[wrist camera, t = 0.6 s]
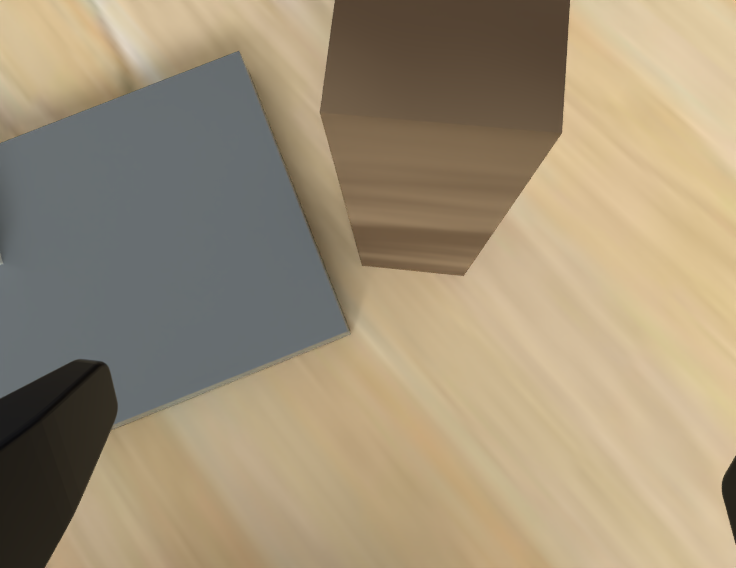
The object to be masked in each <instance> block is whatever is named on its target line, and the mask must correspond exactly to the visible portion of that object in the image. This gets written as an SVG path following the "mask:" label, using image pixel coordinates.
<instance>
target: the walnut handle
mask: <svg viewBox="0 0 736 568" xmlns="http://www.w3.org/2000/svg"><path fill="white" fill-rule="evenodd" d="M569 8H570V0H335V4H334V12H333V19H332V26H331V34H330V41H329V49H328V56H327V64H326V71H325V78H324V86H323V93H322V101H321V108H320V114H321V118H322V122H323V125H324V129H325V133H326V136H327V140H328V143H329V147H330V151H331V154H332V158H333V162H334V165H335V169H336V172H337V176H338V180H339V183H340V187H341V191H342V194H343V198H344V201H345V205H346V209H347V212H348V216H349V220H350V223H351V227H352V230H353V234H354V238H355V241H356V245H357V248H358V252H359V256H360V259H361V263H362V266H372V267H382V268H392V269H402V270H411V271H421V272H431V273H441V274H451V275H461V276H464V274H465V273H466V272H467V270H468V269H469V267H470V266H471V264H472V263H473V261H474V260H475V258H476V257H477V256H478V254H479V253H480V251H481V250H482V248H483V247H484V245H485V244H486V243H487V241H488V240H489V238H490V237H491V235H492V234H493V232H494V231H495V229H496V228H497V227H498V225H499V224H500V222H501V221H502V219H503V218H504V216H505V215H506V213H507V212H508V211H509V209H510V208H511V206H512V205H513V203H514V202H515V200H516V199H517V198H518V196H519V195H520V193H521V192H522V190H523V189H524V187H525V186H526V184H527V183H528V182H529V180H530V179H531V177H532V176H533V174H534V173H535V171H536V170H537V168H538V167H539V166H540V164H541V163H542V161H543V160H544V158H545V157H546V155H547V154H548V153H549V151H550V150H551V148H552V147H553V145H554V144H555V142H556V141H557V139H558V138H559V137H560V135H561V134H562V123H563V107H564V90H565V74H566V57H567V41H568V24H569Z"/></svg>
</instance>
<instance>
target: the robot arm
mask: <svg viewBox="0 0 736 568" xmlns="http://www.w3.org/2000/svg"><path fill="white" fill-rule="evenodd" d="M117 411H118V401H117V397H116V393H115V389H114V385H113V380H112V376H111V372H110V369H109V366H108V365H107V364H106V363H105V362H102V361H96V360H87V359H76V360H74V361H71V362H69V363H67V364H66V365H64V366H62V367H60V368H58V369H56V370H54V371H52V372H50V373H48V374H46V375H44V376H42V377H40V378H39V379H37V380H35V381H33V382H31V383H29V384H27V385H25V386H23V387H21V388H19V389H17V390H15V391H13V392H11V393H10V394H8V395H6V396H4V397H2V398H0V568H45V566H46V564H47V563H48V561H49V559H50V557H51V555H52V554H53V552H54V550H55V548H56V547H57V545H58V543H59V541H60V539H61V538H62V536H63V534H64V532H65V530H66V529H67V527H68V525H69V523H70V521H71V519H72V517H73V515H74V513H75V511H76V509H77V507H78V505H79V503H80V500H81V498H82V496H83V494H84V491H85V489H86V487H87V484H88V482H89V480H90V477H91V475H92V473H93V471H94V468H95V466H96V464H97V461H98V459H99V457H100V454H101V452H102V450H103V447H104V445H105V443H106V440H107V438H108V436H109V433H110V431H111V429H112V427H113V424H114V422H115V419H116V416H117ZM722 495H723V499H724V503H725V506H726V510H727V514H728V518H729V521H730V525H731V529H732V533H733V536H734V540H735V544H736V456H735V458H734V459H733V461H732V463H731V464H730V466H729V468H728V470H727V471H726V473H725V475H724V477H723V481H722Z"/></svg>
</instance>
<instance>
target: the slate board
mask: <svg viewBox="0 0 736 568" xmlns="http://www.w3.org/2000/svg"><path fill="white" fill-rule="evenodd" d="M0 254H1V258H2V261H3V264H1V265H0V398H2V397H4V396H6V395H8V394H10V393H11V392H13V391H15V390H17V389H19V388H21V387H23V386H25V385H27V384H29V383H31V382H33V381H35V380H37V379H39V378H40V377H42V376H44V375H46V374H48V373H50V372H52V371H54V370H56V369H58V368H60V367H62V366H64V365H66V364H67V363H69V362H71V361H74V360H76V359H87V360H96V361H102V362H105V363H106V364H107V365H108V366H109V369H110V372H111V376H112V380H113V385H114V389H115V393H116V397H117V401H118V411H117V416H116V419H115V422H114V424H113V427H112V429H111V430H113V429H115V428H118V427H120V426H123V425H125V424H128V423H130V422H133V421H135V420H138V419H140V418H143V417H145V416H148V415H150V414H153V413H155V412H158V411H160V410H163V409H165V408H168V407H170V406H173V405H175V404H178V403H180V402H183V401H185V400H188V399H190V398H193V397H195V396H198V395H200V394H203V393H205V392H208V391H210V390H213V389H215V388H218V387H220V386H223V385H225V384H228V383H230V382H233V381H235V380H238V379H240V378H243V377H245V376H248V375H250V374H253V373H255V372H258V371H260V370H263V369H265V368H268V367H270V366H273V365H275V364H278V363H280V362H283V361H285V360H288V359H290V358H293V357H295V356H298V355H300V354H303V353H305V352H308V351H310V350H313V349H315V348H318V347H320V346H323V345H325V344H328V343H330V342H333V341H335V340H338V339H340V338H343V337H345V336H348V335H350V334H351V333H350V330H349V328H348V325H347V322H346V320H345V317H344V315H343V312H342V310H341V307H340V304H339V302H338V299H337V297H336V294H335V292H334V289H333V287H332V284H331V281H330V279H329V276H328V274H327V271H326V269H325V266H324V263H323V261H322V258H321V256H320V253H319V251H318V248H317V245H316V243H315V240H314V238H313V235H312V233H311V230H310V227H309V225H308V222H307V220H306V217H305V215H304V212H303V210H302V207H301V204H300V202H299V199H298V197H297V194H296V192H295V189H294V186H293V184H292V181H291V179H290V176H289V174H288V171H287V168H286V166H285V163H284V161H283V158H282V156H281V153H280V151H279V148H278V145H277V143H276V140H275V138H274V135H273V133H272V130H271V127H270V125H269V122H268V120H267V117H266V115H265V112H264V109H263V107H262V104H261V102H260V99H259V97H258V94H257V91H256V89H255V86H254V84H253V81H252V79H251V76H250V74H249V71H248V69H247V67H246V65H245V63H244V60H243V58H242V56H241V54H240V52H239V51H237V52H235V53H232V54H230V55H227V56H224V57H222V58H219V59H217V60H214V61H211V62H209V63H206V64H204V65H201V66H199V67H196V68H193V69H191V70H188V71H186V72H183V73H180V74H178V75H175V76H173V77H170V78H168V79H165V80H162V81H160V82H157V83H155V84H152V85H149V86H147V87H144V88H142V89H139V90H136V91H134V92H131V93H129V94H126V95H124V96H121V97H118V98H116V99H113V100H111V101H108V102H105V103H103V104H100V105H98V106H95V107H93V108H90V109H87V110H85V111H82V112H80V113H77V114H74V115H72V116H69V117H67V118H64V119H61V120H59V121H56V122H54V123H51V124H49V125H46V126H43V127H41V128H38V129H36V130H33V131H30V132H28V133H25V134H23V135H20V136H18V137H15V138H12V139H10V140H7V141H5V142H2V143H0Z"/></svg>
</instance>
